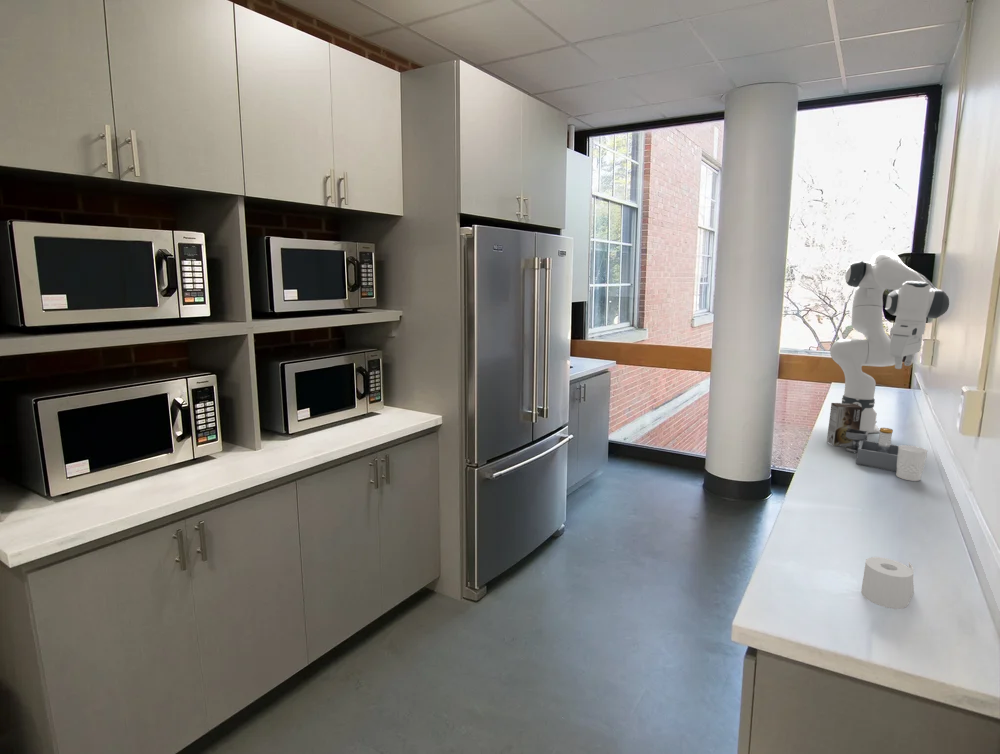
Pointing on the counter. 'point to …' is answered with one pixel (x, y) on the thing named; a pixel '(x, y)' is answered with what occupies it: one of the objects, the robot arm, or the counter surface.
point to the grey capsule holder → (855, 439)
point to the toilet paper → (888, 582)
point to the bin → (877, 456)
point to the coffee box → (843, 422)
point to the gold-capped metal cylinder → (884, 440)
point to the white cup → (910, 462)
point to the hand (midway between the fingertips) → (902, 367)
